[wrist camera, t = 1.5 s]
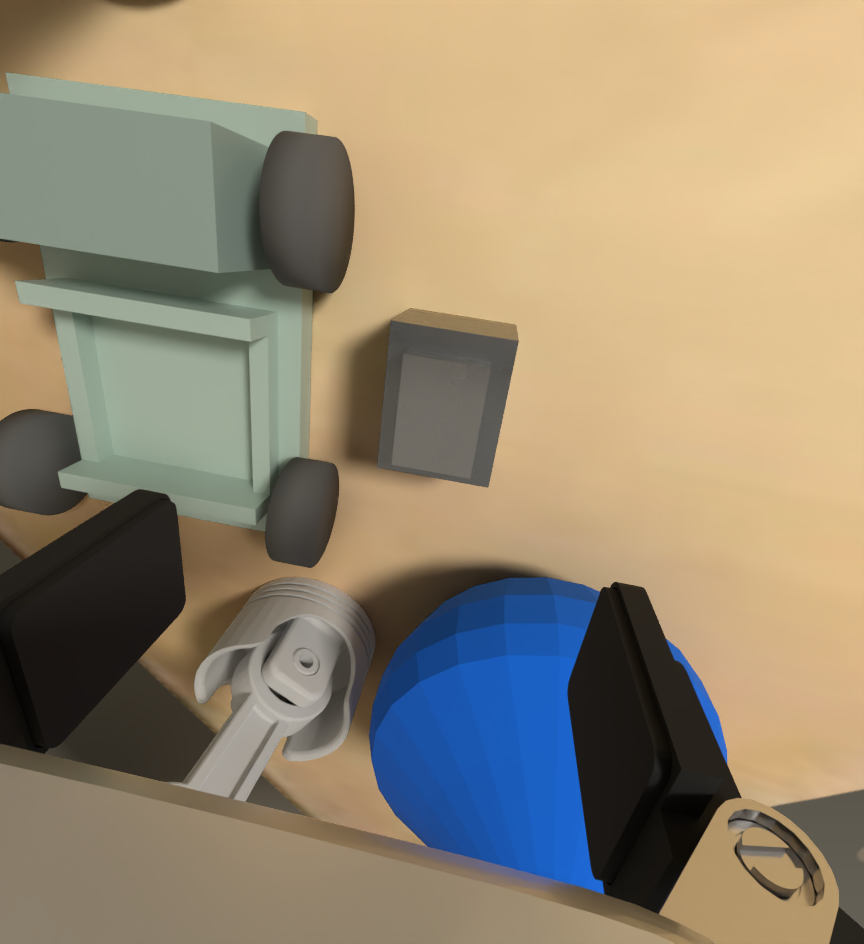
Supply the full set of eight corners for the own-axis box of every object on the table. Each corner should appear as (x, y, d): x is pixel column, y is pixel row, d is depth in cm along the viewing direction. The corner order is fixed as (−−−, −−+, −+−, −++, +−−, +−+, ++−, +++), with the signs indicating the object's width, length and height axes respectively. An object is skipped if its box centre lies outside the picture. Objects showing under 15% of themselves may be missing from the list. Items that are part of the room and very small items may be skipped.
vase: (738, 623, 30) (1048, 1118, 13) (558, 768, 38) (603, 1200, 21) (492, 474, 28) (472, 821, 11) (355, 659, 36) (218, 1034, 19)
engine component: (326, 701, 38) (403, 635, 34) (160, 1117, 20) (285, 1080, 16) (211, 623, 36) (278, 543, 33) (-88, 1002, 18) (-17, 926, 14)
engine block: (411, 308, 25) (382, 325, 19) (516, 324, 25) (519, 347, 19) (397, 432, 28) (369, 480, 22) (490, 449, 28) (487, 501, 22)
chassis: (-4, 77, 23) (-176, 18, 17) (359, 126, 22) (307, 80, 16) (78, 482, 33) (-15, 532, 27) (336, 531, 31) (298, 595, 26)
